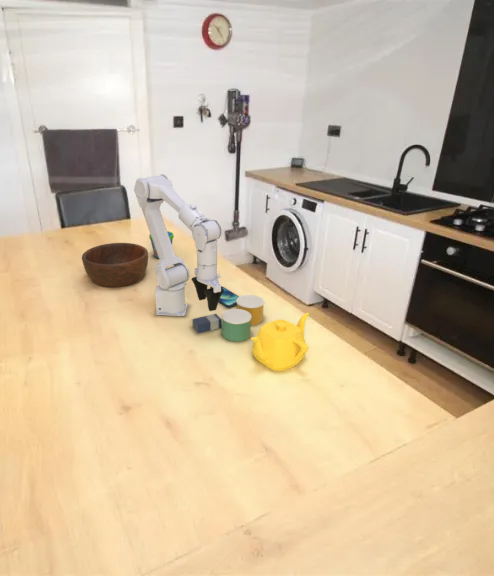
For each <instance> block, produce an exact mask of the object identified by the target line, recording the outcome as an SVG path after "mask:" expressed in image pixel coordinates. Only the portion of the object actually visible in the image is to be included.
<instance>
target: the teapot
mask: <svg viewBox="0 0 494 576" xmlns="http://www.w3.org/2000/svg"><path fill="white" fill-rule="evenodd" d="M309 316H310V313H309V312H306V313H304V314H303V315H301V317H300V318H299V320H298V321H297V324H295V323H293V322H290V321H288V320H286V319H281V318H280V319H275V320H271V321H270V322H267V323H265V324H264V325H262V326H261V327H260V328H259V330H258V332H257V334H256V336H254V337H253V336H252V337H251V338H250V340H251V341H253V344H252V349H251V351H252V355H253V356H254V358H255V359H256V361H257V362H259V363H260V364H262V365H263V366H264V367H266V368H268V369H270V370H271V371H275V372H281V371H282V372H283V371H286V370H289V369H291V368H293V367H295V366H297V365H298V364H299V363H300V362H301V361H302V360H303V359H304V358H305V356H306V353H307V352H308V350H309V346H308V344H307V343H306V339H305V328H306V327H305V325H306V321H307V319H308V317H309Z"/></svg>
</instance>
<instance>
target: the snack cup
mask: <svg viewBox="0 0 494 576" xmlns="http://www.w3.org/2000/svg"><path fill="white" fill-rule="evenodd" d="M167 232H168V235H169V238H170V241H171V244H172V245H173V241H174V237H175V236H174V232H172V231H168V230H167ZM148 238H149V240H150V244H151V248H152V252H153V256H154V257H155V258H157V259H159V257H158V254H157V251H156V249H155V246H154V243H153V240H152V237H151V234H150V233H149V237H148Z"/></svg>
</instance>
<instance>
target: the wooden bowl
mask: <svg viewBox="0 0 494 576" xmlns="http://www.w3.org/2000/svg"><path fill="white" fill-rule="evenodd" d="M81 260H82V264H83V269H84V271H85V273H86V275H87V277H88V278H89V280H90V281H91V282H93V283H94V284H95V285H97V286H100V287H103V288H104V287H105V288H121V287H122V288H123V287H127V286H130V285H134V284H136V283H137V282H139V281H141V279H142V278H143V277H144V276H145V274H146V271H147V268H148V264H149V263H148V262H149V251H148V249H147V248H146V247H145V246H143V245H141V244H137V243H131V242H112V243H111V242H110V243H105V244H100V245H97V246H93V247H91V248H89V249H87V250H85V251H84V252H83V254H82V255H81Z"/></svg>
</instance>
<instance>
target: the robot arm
mask: <svg viewBox="0 0 494 576" xmlns="http://www.w3.org/2000/svg"><path fill="white" fill-rule="evenodd" d="M133 192H134V195H135V198H136V200H137V203H138V205H139V208H141V211H142V214H143V217H144V219H145V223H146V225H147V227H148V231H149V235H150V234H151V237H152V240H153V243H154V246H155V249H156V251H157V254H158V257H159V258H158V262H157V263H156V265H155V267H154V271H155V278H156V279H155V280H156V282H157V283H156V284H157V285H156V287H155V295H154V296H155V297H154V298H155V311H156V313H155V315H156V316H167V317H168V316H170V317H185V316H186V313H187V310H188V307H189V306H188V303H186V291H185V289H186V288H185V286H187V282H188V281H189V280H190V276H191V275H190V269H189V268H188V267H187V265H186V263H185V260H184V259H183V258H182V257H180V256H177V255H176V253H175V250H174V247H173V243H172V244H171V241H170V238H169V235H168V232H169V231H168V230H167V227H166V223H165V221H164V218H163V215H162V212H161V208H160V207H161V205H162V204H163V203H164V202H165V203H167V204H168V205H169V206H170V208H173V209H174V210H175V211H176V212H177V213H178V219H179V220H180V222H182V224H184V225H185V226H186V228H188V229H189V230H190V231H191V236H192V239H193V241H194V247H195V249H196V268H194V276H193V277H191V282H192V283H193V286H194V288H195V291H196V296H197V298H198V300H199V301H203V300H206V301H207V309H208V311H209V312H214V311H216V310H217V309H218V304H219V303H220V302H219V299H220V297H221V295H222V294H223V292H224V289H223V288H222V287H223V286H222V285H221V284H220V282H219V281H220V280H219V279H220V278H221V274H220V273H218V240H220V239H221V237H222V226H221V225H220V223H219V222H218V220H217V219H214V218H210V217H207V216H206V215H205V214H203V212H202V211H201V210H200V209H198V208H197V207H198V206H196V204H193V203H187V202H186V201H185V200H184V199H183V197H181V195H180V194H179V193H178V192H177V191H176V189H175V188H174V187H173V183H172V180H171V179H170V178H169V177H168V176H167V175H166V174H164V173H163V174H159V175H153V176H147V177H139V178H137V179H136V180H135V184H134V188H133ZM167 231H168V232H167ZM221 286H222V287H221ZM208 287H209V288H208Z"/></svg>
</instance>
